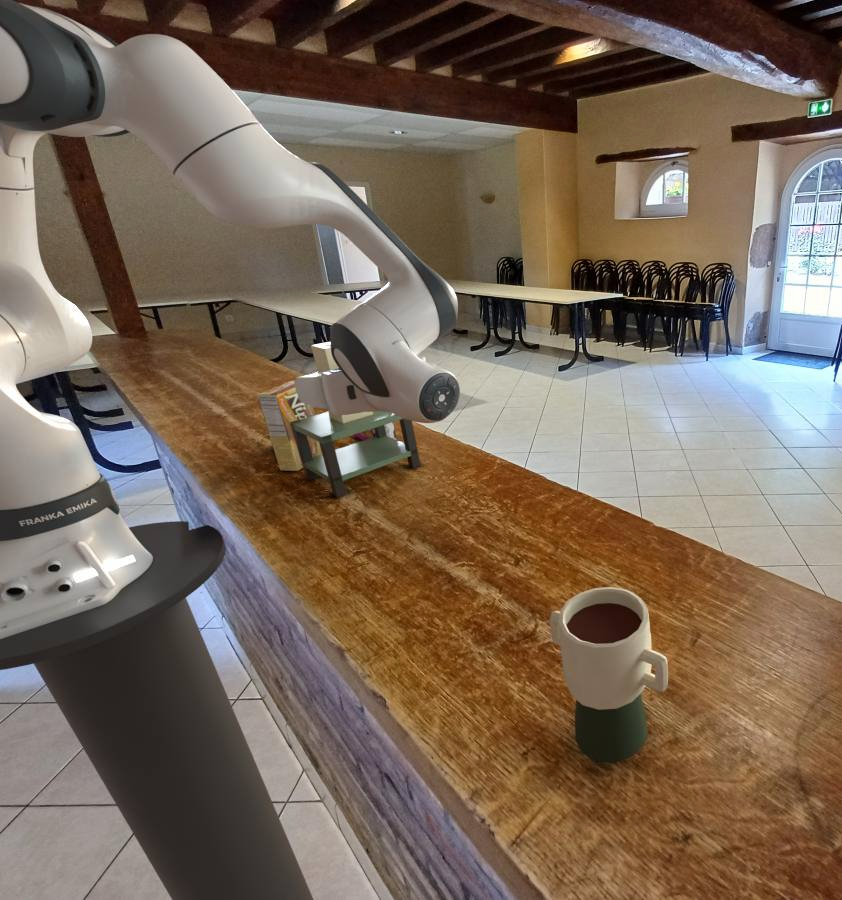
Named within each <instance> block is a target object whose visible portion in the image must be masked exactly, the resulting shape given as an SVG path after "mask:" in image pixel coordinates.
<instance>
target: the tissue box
mask: <svg viewBox="0 0 842 900" xmlns="http://www.w3.org/2000/svg"><path fill="white" fill-rule="evenodd" d="M310 347H311V348H310V349H311V352H312V355H313V359H314V363H315V367H316V370H317V371H316V372H319V371H321V372H323V371H327V370H331V369H336V368H339V367H338V366H337V364H336V363H335V361H334V359H333V357H332V353H331V346H330V341H327V342H321V343H316V344H312V345H310ZM327 412H328V413H329V417H330V418H332V419H334V420H337V421H339V422H341V423H346V422H350V421H353V420H356V419H360V418H363V417H366V416H370V415H373V412H361V413H353V414H347V415H340V416H336V415H333V414H331V411H330V409H327Z"/></svg>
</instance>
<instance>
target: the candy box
mask: <svg viewBox="0 0 842 900" xmlns="http://www.w3.org/2000/svg"><path fill="white" fill-rule="evenodd" d="M257 397H258V398H259V400H260V403H259V405H260V404H261V406H260V408H261V407H262V410H263V413H262V415H263V414H264V416H263V418H264V417H265V420H264V422H265V421H266V423H265V425H266V424H267V427H268V430H269V433H268V435H269V434H270V437H271V440H270V442H271V441H272V443H271V445H272V444H273V446H272V448H273V450H274V455H275V457H276V460H277V464H278V467H279V470H280V471H285V472H286V471H287V472H288V471H291V472H298V471H300V470H301V469H304V468H303V465H302V462H301V458H300V455H299V451H298V448H297V444H296V441H295V437H294V434H293V430H292V427H291V424H290V422H293V421H296V420H300V419H304V418H307V417H311V416H314V415H317V414H316V411H315V407H313V406H310V405H308V404H305V403H303V402H302V401H300V399H299V397H298V395H297V391H296V388H295V383H294V380H290V381H287V382H285V383H282V384H280V385H277V386H275V387H273V388H270V389H268V390H265V391H263V392H261V393H258V395H257ZM259 400H258V401H259ZM262 410H261V411H262ZM267 427H266V428H267ZM268 430H267V431H268ZM270 437H269V438H270ZM307 438H308V442H309V446H310V449H311V453H312V456H313V457H315V456H318V455H321V454H322V451H321V448H320V444H319V442H318V441H316V440H314V439H312V438H310V437H308V436H307Z"/></svg>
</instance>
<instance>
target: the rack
mask: <svg viewBox="0 0 842 900" xmlns="http://www.w3.org/2000/svg"><path fill="white" fill-rule="evenodd" d="M398 421H399V425H400V429H401V434H402V440H403V441H400V440H398V439H397V440H395V439H393V438H391V437H388V436H387V435H386V430H385V424H389V423H392V422H393V423H395V422H398ZM290 424H291V427H292V430H293V434H294V437H295V441H296V444H297V448H298V451H299V455H300V458H301V462H302V465H303V468H302V469H303V473H304V475H305V478H306V479H307V480H309V481H311V480H314V479H317V478H319V477H321V478H323V479H325V480H326V481H328V482H329V484H330V488H331V491H332V495H333V496H334V497H335V498H340V497H342V496H345V495H347V490H346V487H345V483H344V481H347V480H350V479H352V478H354V477H358V476H360V475H363V474H366V473H368V472H371V471H373V470H377V469H379V468H382V467H385V466H387V465H390V464H393V463H395V462H399V461H401V460H404V459H406V458H407V459H406V460H407V463H408V466H409V467H410V468H412V469H416V468H417V467H420V466H421V460H420V455H419V449H418V445H417V444H418V443H417V439H416V434H415V430H414V425H413V421H410V420H407V419H404V418H401V417H398V416H396V415H394V414H393V413H387V412H384V411H381V412H373V415H370V416H366V417H363V418H360V419H356V420H353V421H350V422H346V423H341V422H339V421H337V420H334V419H332V418H330V417H329V413H328V411H325V412H322V413H318V414H316V415H314V416H311V417H307V418H304V419H300V420H296V421H293V422H290ZM373 428H374V432H375V436H376V437H373V438H370V439H367V440H364V441H362V440H361V441H359V442H356V443H352V444H349V445H346V446H343V447H340V448H337V449H336V448H335V445H334V441H337V440H340V439H344V438H347V437H350V436H353V434H357V433H360V432H363V431H366V430H369V429H373ZM307 436H308V437H310V438H312V439H314V440H316V441H318V442H319V444H320V448H321V451H322V454H321V455H318V456H315V457H313V456H312V453H311V449H310V446H309V442H308V438H307Z"/></svg>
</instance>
